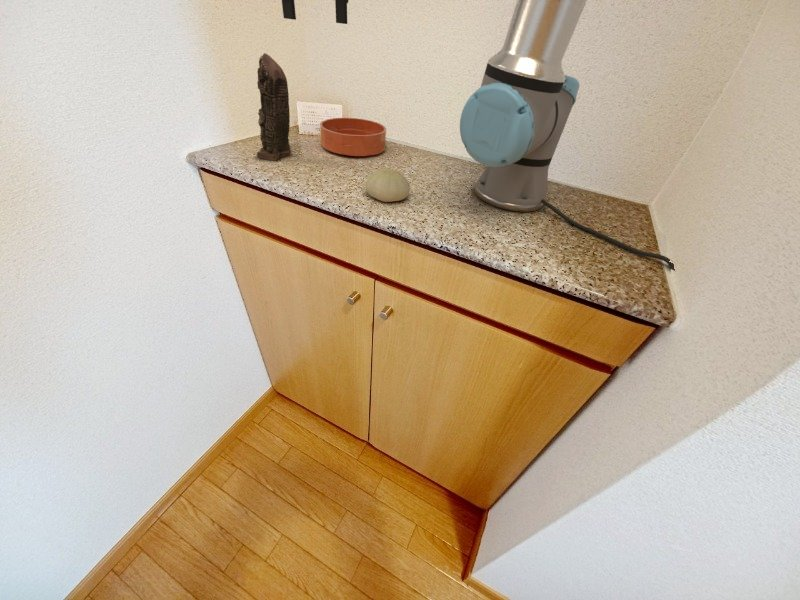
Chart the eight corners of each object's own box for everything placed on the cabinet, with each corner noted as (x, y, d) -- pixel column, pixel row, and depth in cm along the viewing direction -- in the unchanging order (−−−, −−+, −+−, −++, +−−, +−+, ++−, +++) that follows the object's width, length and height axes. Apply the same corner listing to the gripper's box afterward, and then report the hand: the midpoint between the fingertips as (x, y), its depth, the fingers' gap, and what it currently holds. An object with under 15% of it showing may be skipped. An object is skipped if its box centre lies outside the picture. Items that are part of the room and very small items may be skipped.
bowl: (397, 151, 89) (399, 129, 86) (353, 163, 79) (353, 139, 75) (353, 135, 97) (353, 115, 93) (307, 145, 86) (305, 122, 82)
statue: (269, 149, 81) (252, 49, 67) (296, 153, 80) (285, 54, 67) (256, 158, 75) (235, 51, 62) (285, 162, 75) (270, 56, 62)
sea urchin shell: (411, 178, 70) (413, 160, 62) (407, 214, 69) (407, 200, 61) (370, 173, 70) (366, 154, 62) (365, 208, 69) (360, 194, 61)
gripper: (345, -124, 61) (347, 23, 75) (218, -186, 45) (251, 15, 59) (375, -128, 58) (372, 26, 72) (249, -197, 42) (276, 18, 56)
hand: (317, 21), depth 65 cm, fingers open, 13 cm apart
